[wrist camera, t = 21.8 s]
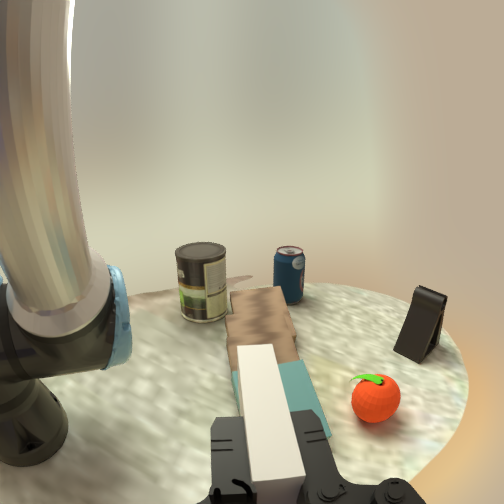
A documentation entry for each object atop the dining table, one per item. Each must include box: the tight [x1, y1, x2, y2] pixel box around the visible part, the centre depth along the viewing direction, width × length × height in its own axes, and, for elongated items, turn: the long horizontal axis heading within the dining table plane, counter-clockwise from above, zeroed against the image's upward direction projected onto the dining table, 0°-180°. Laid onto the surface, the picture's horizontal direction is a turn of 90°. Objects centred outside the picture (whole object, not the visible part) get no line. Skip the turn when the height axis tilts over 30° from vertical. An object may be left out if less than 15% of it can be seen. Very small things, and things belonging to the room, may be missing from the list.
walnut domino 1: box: [230, 286, 296, 343], centre depth 59 cm, size 10×2×12 cm
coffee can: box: [175, 242, 228, 323], centre depth 66 cm, size 10×10×14 cm
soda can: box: [273, 246, 305, 305], centre depth 72 cm, size 7×7×12 cm
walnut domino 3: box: [227, 330, 300, 415], centre depth 45 cm, size 10×2×12 cm
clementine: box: [351, 374, 401, 423], centre depth 38 cm, size 8×7×7 cm
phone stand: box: [393, 285, 447, 363], centre depth 51 cm, size 9×6×12 cm, turn 125°
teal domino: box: [231, 360, 332, 440], centre depth 38 cm, size 10×2×12 cm
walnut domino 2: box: [225, 309, 289, 337], centre depth 51 cm, size 10×2×12 cm
